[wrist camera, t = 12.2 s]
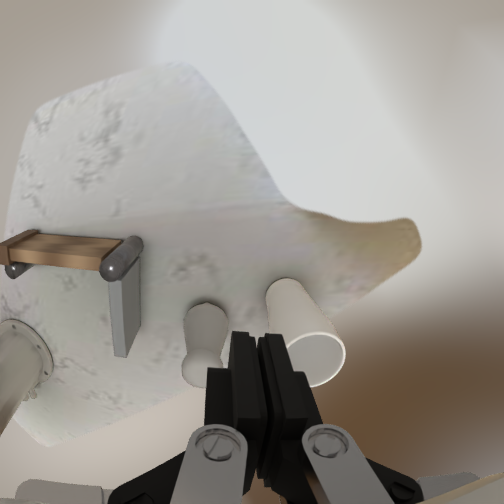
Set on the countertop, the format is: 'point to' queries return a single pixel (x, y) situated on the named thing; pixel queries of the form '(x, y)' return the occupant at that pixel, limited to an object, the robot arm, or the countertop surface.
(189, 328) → the salt shaker
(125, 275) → the grey rectangular slab
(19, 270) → the post
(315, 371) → the drinking glass
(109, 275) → the hinge post
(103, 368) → the countertop surface
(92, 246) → the gate
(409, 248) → the countertop surface
